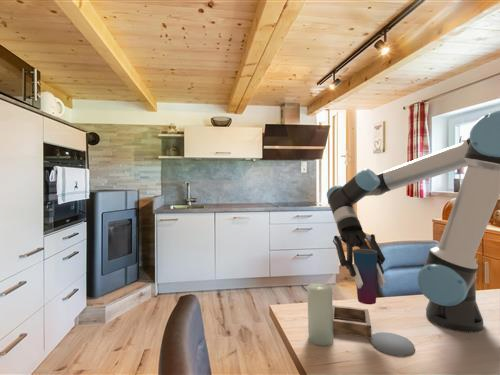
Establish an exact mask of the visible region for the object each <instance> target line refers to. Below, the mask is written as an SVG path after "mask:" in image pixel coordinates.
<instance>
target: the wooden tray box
mask: <svg viewBox="0 0 500 375" xmlns="http://www.w3.org/2000/svg"><path fill="white" fill-rule="evenodd" d="M332 305H333V334H334V333H336V334H343V335H348V336H349V335H350V336H357V337H364V338H369V339H370V338H371V336H372V323H371V318H370V312H369V311H370V310H369V309H368V308H360V307H350V306H343V305H342V306H341V305H334V304H332ZM336 318H339V319H336ZM341 319H343V320H341ZM344 319H346V320H344ZM351 320H352V321H351ZM353 320H354V321H353ZM358 321H360V322H358ZM361 321H363V322H361Z"/></svg>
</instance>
